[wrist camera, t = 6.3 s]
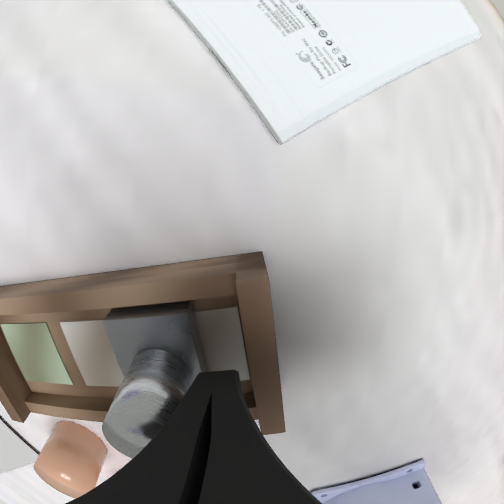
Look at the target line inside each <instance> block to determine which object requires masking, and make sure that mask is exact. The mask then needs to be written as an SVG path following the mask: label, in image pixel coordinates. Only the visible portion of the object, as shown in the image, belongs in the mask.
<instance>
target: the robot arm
mask: <svg viewBox="0 0 504 504" xmlns="http://www.w3.org/2000/svg"><path fill="white" fill-rule="evenodd" d="M425 465H426V463H425V461H424V460H420V461H418V462H415V463H413V464H410V465H407V466H404V467H402V468H399V469H396V470H393V471H390V472H387V473H384V474H381V475H377V476H374V477H371V478H367V479H364V480H360V481H356V482H352V483H348V484H344V485H340V486H336V487H331V488H327V489H322V490H317V491H314V492H312V493H310V492H309V491H308V490H307V489H306V488H305V487H304V486H303V485H302V484H301V483H300V482H299V481H298V480H297V479H296V478H295V477H294V475H293V474H292V473H291V472H290V471H289V470H288V469H287V468H286V467H285V465H284V464H283V463H282V462H281V460H280V459H279V458H278V457H277V455H276V454H275V453H274V451H273V450H272V448H271V447H270V446H269V444H268V443H267V441H266V440H265V438H264V436H263V435H262V433H261V432H260V430H259V428H258V426H257V425H256V423H255V421H254V419H253V417H252V415H251V413H250V411H249V409H248V406H247V404H246V402H245V399H244V397H243V392H242V387H241V382H240V376H239V372H238V371H236V370H235V369H233V370H223V371H212V372H200V373H199V374H198V375H197V376H196V378H195V379H194V381H193V383H192V384H191V386H190V388H189V389H188V391H187V393H186V394H185V396H184V397H183V399H182V400H181V402H180V403H179V405H178V406H177V408H176V409H175V410H174V412H173V413H172V415H171V416H170V417H169V419H168V420H167V421H166V423H165V424H164V425H163V426H162V428H161V429H160V430H159V431H158V433H157V434H156V435H155V436H154V437H153V439H152V440H151V441H150V442H149V443H148V444H147V445H146V446H145V447H144V448H143V449H142V450H141V451H140V452H139V453H138V454H137V455H136V456H135V457H134V458H133V459H132V460H131V461H130V462H128V463H127V464H126V465H125V466H124V467H123V468H122V469H120V470H119V471H118V472H117V473H115V474H114V475H113V476H112V477H110V478H109V479H107V480H106V481H104V482H103V483H101V484H100V485H98V486H97V487H95V488H94V489H92V490H91V491H89V492H87V493H86V494H84V495H82V496H80V497H78V498H76V499H74V500H72V501H70V502H68V503H66V504H442V503H441V501H440V499H439V497H438V495H437V493H436V491H435V489H434V487H433V485H432V483H431V481H430V479H429V477H428V475H427V473H426V472H425V470H424V467H425Z"/></svg>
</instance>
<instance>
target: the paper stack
mask: <svg viewBox="0 0 504 504" xmlns="http://www.w3.org/2000/svg"><path fill="white" fill-rule="evenodd" d="M38 456H39V455H38V454H37V453H36V452H35V451H34V450H33V449H31V448H30V447H29V446H28V445H27V444H26V443H25V442H23V441H22V440H21V439H20V438H19V437H18V436H17V435H16V434H15V433H14V432H13V431H12V430H11V429H10V428H8V427H7V426H6V425H5V424H4V423H3V422H2V421H1V420H0V473H3V472H7V471H10V470H13V469H16V468H19V467H22V466H25V465H28V464H31V463H34V462H36V460H37V458H38Z"/></svg>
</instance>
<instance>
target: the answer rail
mask: <svg viewBox="0 0 504 504" xmlns="http://www.w3.org/2000/svg"><path fill="white" fill-rule="evenodd" d="M187 300H192V304H193V309H194V313H195V317H196V322H197V326H198V330H199V335H200V339H201V343H202V347H203V351H204V355H205V359H206V363H207V367H208V371H209V372H212V371H223V370H233V369H235V370H236V371H238V372H239V376H240V382H241V387H242V392H243V397H244V399H245V402H246V404H247V406H248V409H249V411H250V413H251V415H252V417H253V419H254V420H257V419H259V424H260V429H261V433H262V435H267V434H275V433H282V432H285V422H284V412H283V403H282V393H281V384H280V374H279V365H278V356H277V347H276V338H275V329H274V320H273V311H272V302H271V294H270V285H269V278H268V274H267V270H266V266H265V262H264V258H263V254H262V252H255V253H248V254H240V255H233V256H226V257H218V258H211V259H203V260H196V261H188V262H181V263H173V264H166V265H158V266H151V267H143V268H135V269H128V270H120V271H113V272H105V273H98V274H90V275H83V276H75V277H68V278H60V279H53V280H45V281H37V282H30V283H22V284H15V285H7V286H0V401H1V403H2V405H3V406H4V408H5V409H6V411H7V412H8V414H9V415H10V417H11V418H12V420H14V421H18V422H22V423H24V421H25V420H26V418H27V417H28V415H29V414H30V412H33V413H38V414H44V415H50V416H56V417H63V418H70V419H78V420H87V421H97V422H104V420H105V417H106V415H107V413H108V411H109V409H110V406H111V404H112V402H113V400H114V398H115V395H116V393H117V391H118V389H119V387H120V385H121V383H122V381H123V378H124V376H123V374H122V371H121V369H120V366H119V364H118V361H117V359H116V356H115V354H114V351H113V349H112V346H111V343H110V341H109V338H108V335H107V332H106V329H105V327H104V324H103V319H104V318H105V317H106V315H107V314H108V313H109V312H110V310H111V309H112V308H118V307H129V306H139V305H150V304H160V303H169V302H178V301H187Z"/></svg>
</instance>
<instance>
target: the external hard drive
mask: <svg viewBox="0 0 504 504" xmlns="http://www.w3.org/2000/svg"><path fill="white" fill-rule="evenodd" d="M168 2H169V3H170V4H171V5H172V6H173V7H174V8H175V9H176V10H177V11H178V13H179V14H180V15H181V16H182V17H183V18H184V20H185V21H186V22H187V23H188V24H189V25H190V27H191V28H192V29H193V30H194V31H195V33H196V34H197V35H198V36H199V37H200V39H201V40H202V41H203V42H204V43H205V45H206V46H207V47H208V48H209V49H210V50H212V52H213V53H214V54H215V55H216V57H217V58H218V59H219V60H220V62H221V63H222V64H223V65H224V67H225V68H226V69H227V71H228V72H229V74H230V76H231V78H232V79H233V80H234V82H235V83H236V84H237V86H238V87H239V88H240V90H241V91H242V92H243V94H244V95H245V96H246V98H247V99H248V101H249V102H250V103H251V105H252V106H253V107H254V109H255V110H256V112H257V113H258V114H259V116H260V117H261V119H262V120H263V122H264V123H265V124H266V126H267V127H268V129H269V130H270V132H271V133H272V134H273V136H274V137H275V139H276V140H277V142H278V143H279V144H280V145H281V144H283V143H285V142H286V141H288V140H290V139H291V138H293V137H295V136H296V135H298V134H299V133H301V132H303V131H304V130H306V129H307V128H309V127H311V126H313V125H314V124H316V123H318V122H319V121H321V120H323V119H324V118H326V117H328V116H330V115H331V114H333V113H335V112H336V111H338V110H340V109H342V108H343V107H345V106H347V105H349V104H350V103H352V102H354V101H356V100H358V99H359V98H361V97H363V96H365V95H367V94H368V93H370V92H372V91H374V90H376V89H378V88H380V87H382V86H384V85H385V84H387V83H389V82H391V81H393V80H395V79H397V78H399V77H401V76H402V75H404V74H406V73H408V72H410V71H412V70H414V69H416V68H418V67H420V66H422V65H424V64H427V63H429V62H431V61H433V60H435V59H437V58H439V57H441V56H443V55H445V54H448V53H450V52H452V51H454V50H456V49H458V48H460V47H462V46H465V45H467V44H469V43H472V42H474V41H476V40H479V39H481V33H480V30H479V28H478V26H477V25H476V23H475V21H474V20H473V18H472V17H471V15H470V14H469V12H468V11H467V9H466V8H465V6H464V5H463V4H462V2H461V1H460V0H168Z"/></svg>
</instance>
